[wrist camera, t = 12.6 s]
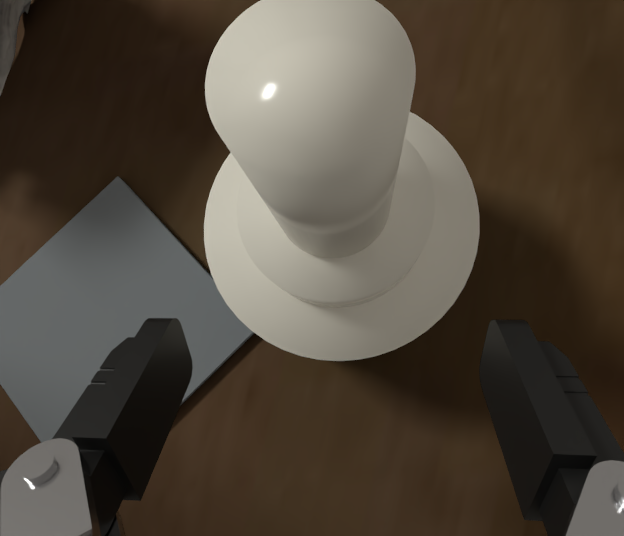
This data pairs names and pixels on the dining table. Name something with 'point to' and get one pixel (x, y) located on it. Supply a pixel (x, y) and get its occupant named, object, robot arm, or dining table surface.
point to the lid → (332, 183)
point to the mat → (103, 306)
